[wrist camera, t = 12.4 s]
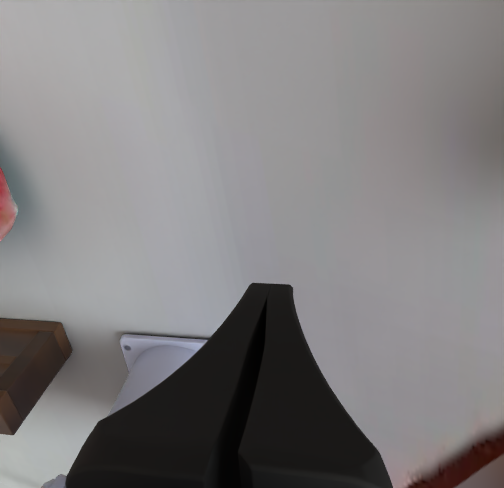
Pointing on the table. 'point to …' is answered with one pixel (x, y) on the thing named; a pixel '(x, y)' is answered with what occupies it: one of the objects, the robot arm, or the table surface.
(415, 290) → the table surface
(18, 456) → the table surface
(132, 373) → the robot arm
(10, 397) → the rack
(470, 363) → the table surface
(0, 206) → the athletic shoe
